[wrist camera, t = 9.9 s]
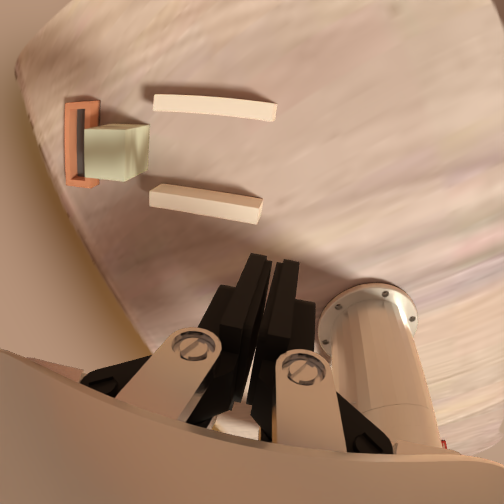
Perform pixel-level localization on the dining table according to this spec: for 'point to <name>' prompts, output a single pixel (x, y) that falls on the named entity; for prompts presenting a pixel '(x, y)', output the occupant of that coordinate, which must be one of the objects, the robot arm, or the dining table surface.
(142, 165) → the sage block
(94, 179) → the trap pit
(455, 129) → the dining table surface
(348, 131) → the dining table surface
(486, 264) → the dining table surface
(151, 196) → the walled channel
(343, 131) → the dining table surface
